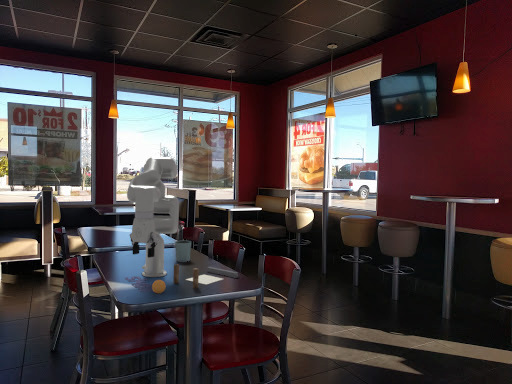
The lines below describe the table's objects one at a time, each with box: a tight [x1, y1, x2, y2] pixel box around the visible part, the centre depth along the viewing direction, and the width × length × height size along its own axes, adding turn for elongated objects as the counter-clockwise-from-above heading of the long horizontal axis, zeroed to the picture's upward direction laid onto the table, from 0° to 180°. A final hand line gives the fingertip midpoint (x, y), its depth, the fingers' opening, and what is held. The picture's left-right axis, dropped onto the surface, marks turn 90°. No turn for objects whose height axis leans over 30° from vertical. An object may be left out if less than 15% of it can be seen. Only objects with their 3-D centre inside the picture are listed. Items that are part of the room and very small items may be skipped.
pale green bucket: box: [174, 240, 192, 263], centre depth 243 cm, size 10×10×12 cm
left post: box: [173, 263, 180, 285], centre depth 191 cm, size 3×3×9 cm
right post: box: [192, 268, 200, 289], centre depth 184 cm, size 3×3×9 cm
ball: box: [151, 279, 167, 294], centre depth 174 cm, size 6×6×6 cm
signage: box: [124, 276, 154, 293], centre depth 189 cm, size 28×1×10 cm
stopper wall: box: [206, 266, 239, 279], centre depth 211 cm, size 20×2×2 cm, turn 56°
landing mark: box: [185, 274, 224, 285], centre depth 200 cm, size 14×14×1 cm
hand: (143, 255), depth 165 cm, fingers open, 9 cm apart
